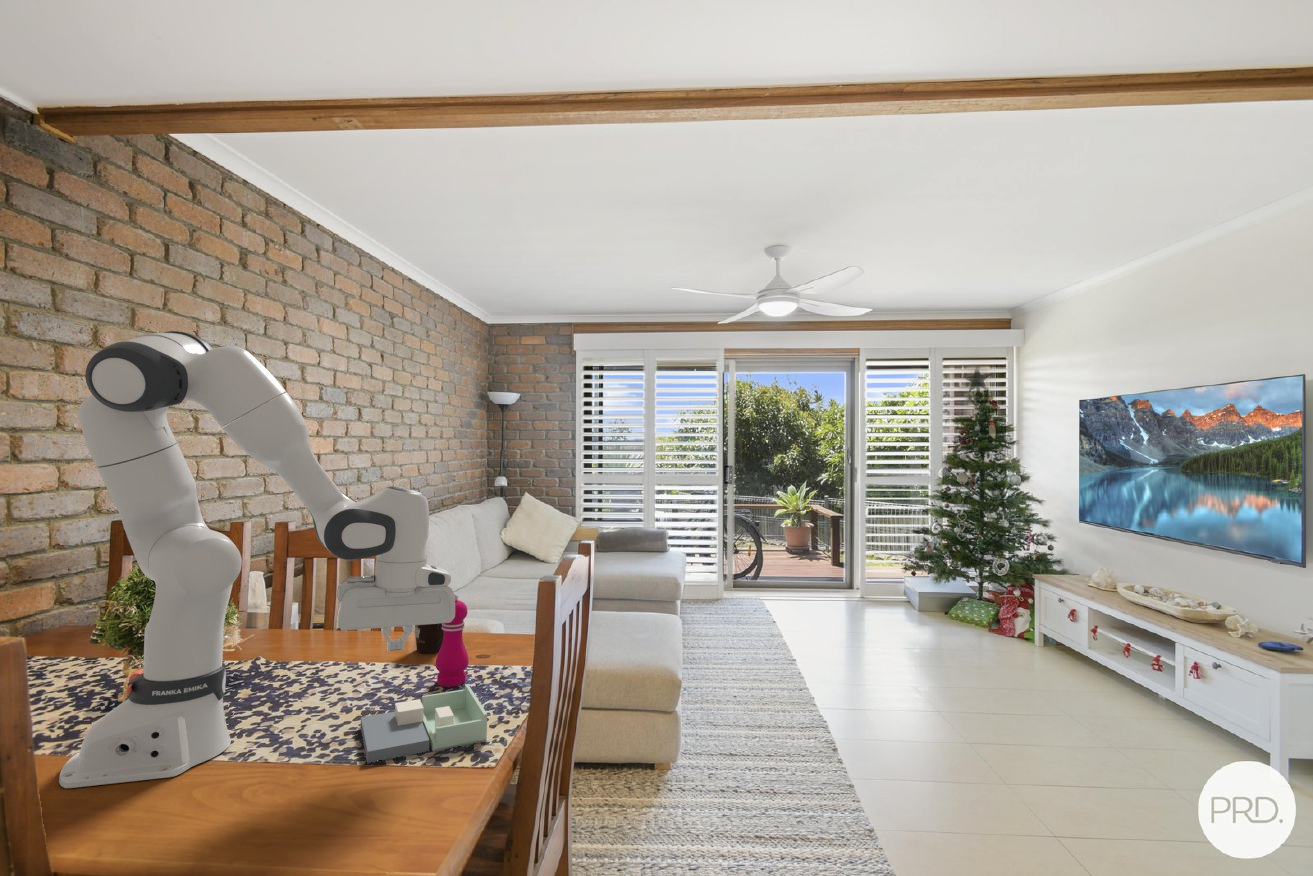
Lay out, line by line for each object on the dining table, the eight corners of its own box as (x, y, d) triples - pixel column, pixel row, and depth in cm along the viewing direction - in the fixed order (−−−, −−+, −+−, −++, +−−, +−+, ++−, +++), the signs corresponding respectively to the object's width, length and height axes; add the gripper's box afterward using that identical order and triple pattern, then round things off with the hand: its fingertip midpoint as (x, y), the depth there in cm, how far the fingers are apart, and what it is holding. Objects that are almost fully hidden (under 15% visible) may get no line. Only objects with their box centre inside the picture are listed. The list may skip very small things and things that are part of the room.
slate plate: (367, 763, 109) (367, 751, 109) (360, 727, 122) (360, 717, 122) (429, 751, 114) (429, 740, 114) (416, 718, 127) (416, 708, 127)
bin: (432, 752, 114) (433, 723, 114) (418, 716, 128) (419, 691, 128) (486, 741, 118) (487, 714, 118) (467, 708, 132) (467, 684, 132)
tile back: (397, 725, 119) (398, 712, 119) (394, 716, 123) (395, 703, 123) (423, 721, 121) (423, 708, 121) (419, 712, 125) (420, 699, 125)
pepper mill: (458, 689, 142) (460, 598, 142) (428, 686, 143) (431, 596, 144) (473, 677, 149) (476, 591, 149) (445, 674, 151) (448, 589, 151)
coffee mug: (413, 645, 170) (414, 608, 170) (447, 643, 173) (448, 606, 173) (410, 660, 159) (411, 620, 159) (446, 658, 162) (448, 618, 162)
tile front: (439, 717, 116) (453, 715, 118) (435, 708, 120) (449, 706, 122) (438, 742, 116) (453, 740, 118) (434, 732, 120) (448, 730, 121)
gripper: (339, 580, 112) (333, 661, 111) (459, 575, 122) (454, 649, 121) (337, 573, 117) (331, 650, 117) (452, 569, 127) (448, 640, 127)
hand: (395, 649), depth 119 cm, fingers closed
